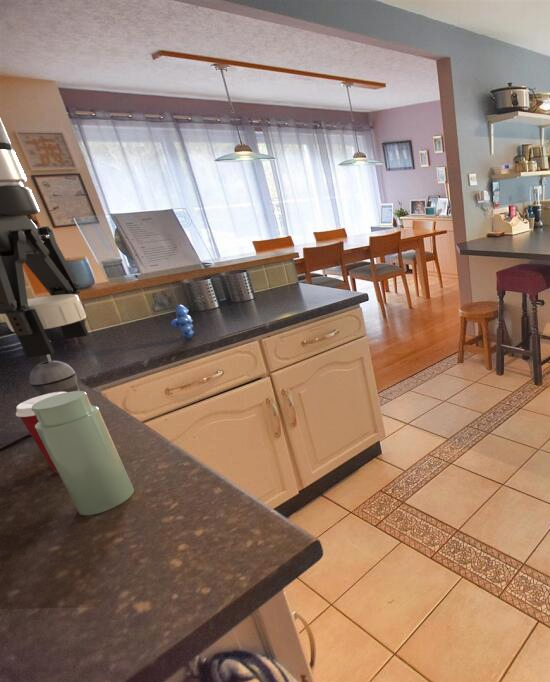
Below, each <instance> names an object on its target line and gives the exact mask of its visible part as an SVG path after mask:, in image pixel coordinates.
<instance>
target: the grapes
mask: <svg viewBox="0 0 550 682" xmlns="http://www.w3.org/2000/svg"><path fill="white" fill-rule="evenodd" d="M175 311H176V312H175V316H176V318H174V319H173V320H172V321H171V322H170V324H169V325H170V326H171V327H173V328H176V329H179V331H180V333H182V337H184V338H185V339H188V340H189V339H192V337H193V335H194V334H195V331H194V330H192V329H193V327H194V325H193V324H192V323H193V321H194V320H193V319H192V317H191V316H190V315H189V314H188V313H189V309H188V308H187V307H185V306H184V305H182V304H179V305H177V307H176V308H175Z"/></svg>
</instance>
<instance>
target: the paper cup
mask: <svg viewBox="0 0 550 682" xmlns="http://www.w3.org/2000/svg"><path fill="white" fill-rule="evenodd" d="M62 393H66V392H55V393H49V394H45V395H41V396H40V395H38V396H35V397H32V398H29V399H27V400H25V401H22V402H20V403H19V404H17V405H16V409H15V410H16V412H15V416H16V417H17V418H20V419H21V422H22V423H23V425H24V426H25V428H26V430H27V431H28V433H29V434H30V436H31V437H32V439H33V440H34V442H35V444H36V445H37V447H38V449H39V451H40V452H41V453H42V455H43V456H44V458H45V460H46V461H47V463H48V465H49V466H50V467H51V469H52V470H53V472H54V473H56V474H58V472H57V470H56V468H55V466H54V464H53V462H52V460H51V458H50V456H49V454H48V452H47V450H46V448H45V446H44V444H43V442H42V440H41V438H40V436H39V434H38V432H37V430H36V428H35V425H36V424H37V423H38V422H39V421H38V419H37V417H36V415H35V413H34V411H32V410H31V409H32V406H33V405H34V404H35V403H37V402H39V401H41V400H43V399H46V398H49V397H51V396H55V395H58V394H62Z"/></svg>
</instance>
